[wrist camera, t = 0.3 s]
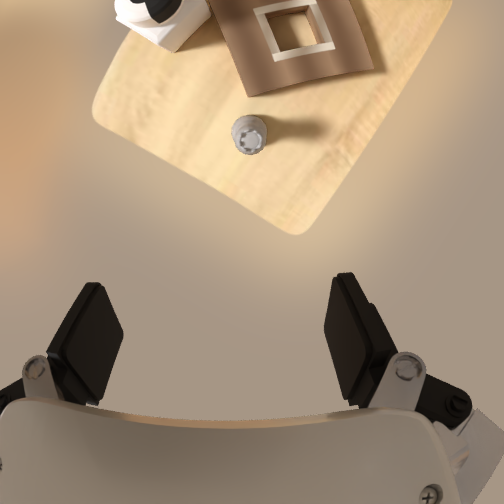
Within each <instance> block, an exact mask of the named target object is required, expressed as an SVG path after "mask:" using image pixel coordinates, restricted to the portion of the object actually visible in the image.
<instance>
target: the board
mask: <svg viewBox="0 0 504 504" xmlns="http://www.w3.org/2000/svg"><path fill="white" fill-rule="evenodd" d="M208 1H209V4H210V6H211V8H212V11H213V13H214V15H215V17H216V20H217V22H218V24H219V27H220V29H221V31H222V34H223V36H224V38H225V41H226V43H227V46H228V48H229V50H230V53H231V55H232V58H233V60H234V63H235V65H236V68H237V70H238V73H239V75H240V78H241V81H242V83H243V86H244V88H245V91H246V94H247V96H248V97H251V96H254V95H257V94H261V93H264V92H267V91H271V90H274V89H278V88H281V87H285V86H289V85H293V84H297V83H301V82H305V81H309V80H314V79H318V78H323V77H328V76H333V75H338V74H344V73H350V72H356V71H363V70H370V69H374V66H373V63H372V60H371V57H370V54H369V51H368V48H367V45H366V42H365V39H364V36H363V34H362V31H361V28H360V26H359V23H358V21H357V18H356V16H355V13H354V11H353V8H352V6H351V4H350V2H349V0H208ZM302 11H304V12H305V14H306V16H307V19H308V21H309V24H310V26H311V28H312V31H313V33H314V36H315V39H316V41H317V44H316V45H311V46H306V47H301V48H296V49H292V50H287V51H283V52H280V50H279V48H278V45H277V43H276V40H275V38H274V35H273V33H272V30H271V28H270V26H269V23H268V21H267V18H272V17H276V16H281V15H286V14H291V13H297V12H302Z"/></svg>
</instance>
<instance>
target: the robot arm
mask: <svg viewBox="0 0 504 504" xmlns="http://www.w3.org/2000/svg"><path fill="white" fill-rule="evenodd" d="M324 333H325V337H326V340H327V343H328V347H329V350H330V353H331V357H332V360H333V364H334V367H335V370H336V374H337V378H338V381H339V385H340V389H341V392H342V396H343V398H344V400H347V399H348V402H349V406H353V405H358V406H359V409H355V410H347V411H339V412H333V413H326V414H318V415H310V416H301V417H291V418H280V419H267V420H243V421H242V420H241V421H210V420H208V421H207V420H185V419H171V418H160V417H150V416H142V415H133V414H127V413H120V412H115V411H109V410H104V409H98V408H94V407H89V406H85V405H86V403H88V404H91V405H95V406H98V404H99V401H100V400H101V399H102V398H103V396H104V393H105V389H106V386H107V383H108V380H109V377H110V374H111V371H112V368H113V365H114V362H115V359H116V357H117V354H118V351H119V348H120V345H121V342H122V340H123V330H122V328H121V325H120V323H119V321H118V318H117V316H116V314H115V312H114V310H113V307H112V305H111V302H110V300H109V297H108V295H107V292H106V290H105V287H104V286H102V285H101V284H100V283H98V282H88V283H86V284H85V286H84V287H83V289H82V290H81V292H80V294H79V295H78V297H77V299H76V300H75V302H74V303H73V305H72V307H71V308H70V310H69V311H68V313H67V315H66V317H65V318H64V320H63V322H62V324H61V325H60V327H59V329H58V331H57V332H56V334H55V336H54V338H53V340H52V341H51V343H50V345H49V347H48V349H47V351H46V353H47V354H48V357H47V358H46V357H44V356H42V355H36V356H33V357H32V358H30V359H29V360H28V361H27V362H26V363H25V365H24V367H23V370H22V377H23V378H21V379H19V380H17V381H16V382H14V383H12V384H11V385H9V386H7V387H6V388H4V389H2V390H0V504H473V502H474V501H475V499H476V498H477V496H478V495H479V494H480V492H481V491H482V489H483V488H484V486H485V485H486V483H487V482H488V480H489V479H490V477H491V475H492V474H493V472H494V470H495V469H496V466H497V465H498V463H499V462H500V460H501V458H502V456H503V454H504V431H503V430H502V429H500V428H499V427H498V426H497V425H496V424H495V423H493V422H492V421H491V420H490V419H489V418H488V417H486V416H485V415H484V414H483V413H482V412H481V411H480V410H478V409H476V410H474V409H472V401H471V399H470V397H469V395H468V394H467V393H466V392H465V391H463V390H461V389H459V388H456V387H454V386H452V385H450V384H448V383H446V382H443V381H441V380H439V379H437V378H435V377H433V376H430V375H428V374H426V366H425V364H424V362H423V360H422V359H421V358H420V357H419V356H417V355H416V354H414V353H410V352H400V353H398V351H397V349H396V346H395V344H394V342H393V340H392V338H391V337H390V334H389V332H388V330H387V328H386V326H385V325H384V323H383V321H382V319H381V317H380V315H379V313H378V311H377V309H376V307H375V306H374V304H372V303H369V302H368V300H367V298H366V296H365V294H364V293H363V291H362V289H361V287H360V285H359V283H358V281H357V280H356V278H355V276H354V274H353V273H352V272H350V273H339V274H338V275H337V277H334V278H333V280H332V285H331V291H330V297H329V302H328V308H327V313H326V318H325V323H324Z"/></svg>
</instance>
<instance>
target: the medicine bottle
mask: <svg viewBox="0 0 504 504" xmlns="http://www.w3.org/2000/svg"><path fill="white" fill-rule="evenodd" d="M115 10H116V13H117V14H118V15H117V16H116V20H117V21H119V22H121V23H123V24H124V25H126V26H128V27H129V28H131V29H133V30H134V31H136V32H137V33H139V34H141V35H142V36H144V37H145V38H147V39H148V40H150V41H152V42H153V43H155V44H156V45H158V46H160V47H162V48H164V49H166V50H168V51H169V52H171V53H175V52H176V51H177V50H178V49H179V48H180V47H181V45H182V44H183V43H184V42H185V41H186V40H187V39H188V38H189V37H190V36H191V35H192V34H193V33H194V32H195V31H196V30H197V29H198V28H199V27H200V26H201V25H202V24H203V23H204V22H205V21H206V20H208V19H209V18H210V17H211V12H210V10H209V7H208V5H207V3H206V0H115Z"/></svg>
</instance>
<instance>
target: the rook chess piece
mask: <svg viewBox="0 0 504 504" xmlns="http://www.w3.org/2000/svg"><path fill="white" fill-rule="evenodd" d="M231 134H232V137H233V140H234V142H235V145H236V147H237V148H238V150H239V151H240V152H242V153H244V154H248V155H253V154H257V153H259V152H260V151H261V150H263V148H264V146H265V145H266V137H267V128H266V125H265V123H264V122H263V121H262V119H260V118H258V117H256V116H254V115H246V116H242V117H240V118H239V119H237V120H236V121H235V123H234V124H233V126H232V133H231Z"/></svg>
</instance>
